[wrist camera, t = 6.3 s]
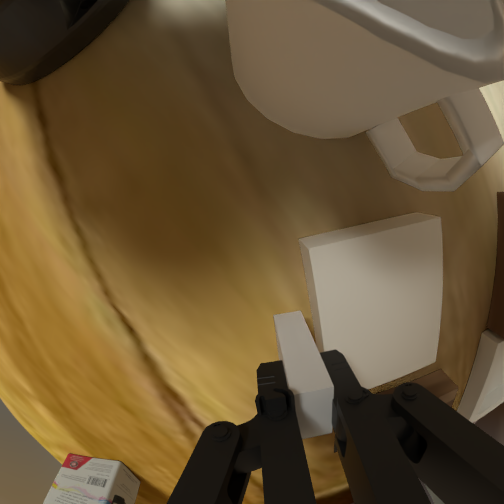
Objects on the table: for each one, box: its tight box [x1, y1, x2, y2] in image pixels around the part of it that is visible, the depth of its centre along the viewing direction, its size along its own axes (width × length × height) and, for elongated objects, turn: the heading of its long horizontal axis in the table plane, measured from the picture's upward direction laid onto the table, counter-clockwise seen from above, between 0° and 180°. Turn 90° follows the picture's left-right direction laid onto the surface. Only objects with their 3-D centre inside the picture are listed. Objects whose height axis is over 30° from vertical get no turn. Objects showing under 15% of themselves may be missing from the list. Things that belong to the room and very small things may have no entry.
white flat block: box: [298, 212, 443, 389], centre depth 15 cm, size 8×10×3 cm
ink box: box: [43, 453, 140, 504], centre depth 15 cm, size 9×5×12 cm, turn 104°
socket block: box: [377, 369, 459, 407], centre depth 18 cm, size 7×7×3 cm
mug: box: [225, 0, 504, 191], centre depth 8 cm, size 14×10×11 cm
